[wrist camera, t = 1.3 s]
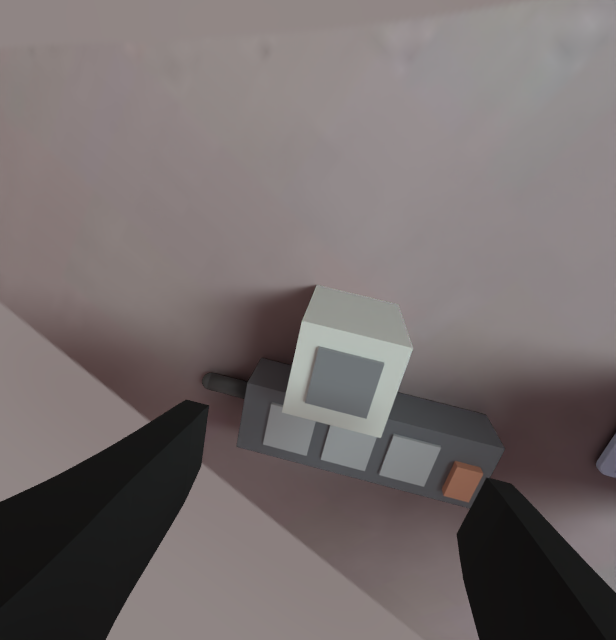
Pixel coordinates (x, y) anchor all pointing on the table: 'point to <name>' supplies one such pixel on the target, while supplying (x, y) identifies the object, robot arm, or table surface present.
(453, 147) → the table surface
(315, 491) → the table surface
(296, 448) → the power strip
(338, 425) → the charger plug
